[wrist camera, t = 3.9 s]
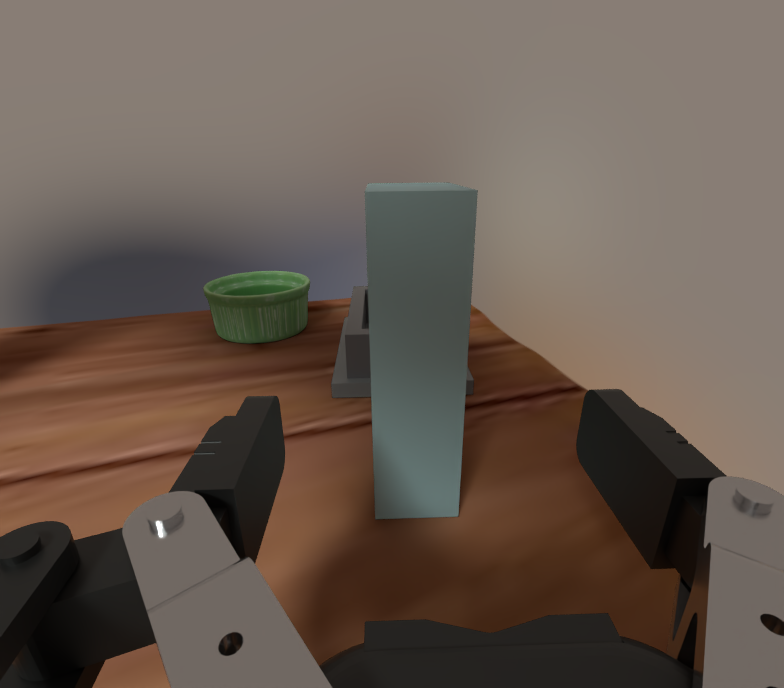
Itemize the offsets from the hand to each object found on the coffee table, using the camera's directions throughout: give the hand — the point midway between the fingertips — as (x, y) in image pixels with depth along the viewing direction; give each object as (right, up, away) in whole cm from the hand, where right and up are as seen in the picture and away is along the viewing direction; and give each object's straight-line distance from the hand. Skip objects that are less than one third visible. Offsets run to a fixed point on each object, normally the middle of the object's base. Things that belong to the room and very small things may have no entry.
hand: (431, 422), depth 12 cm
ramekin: (-13, +3, +29) cm, 32 cm away
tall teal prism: (0, -4, +10) cm, 11 cm away
